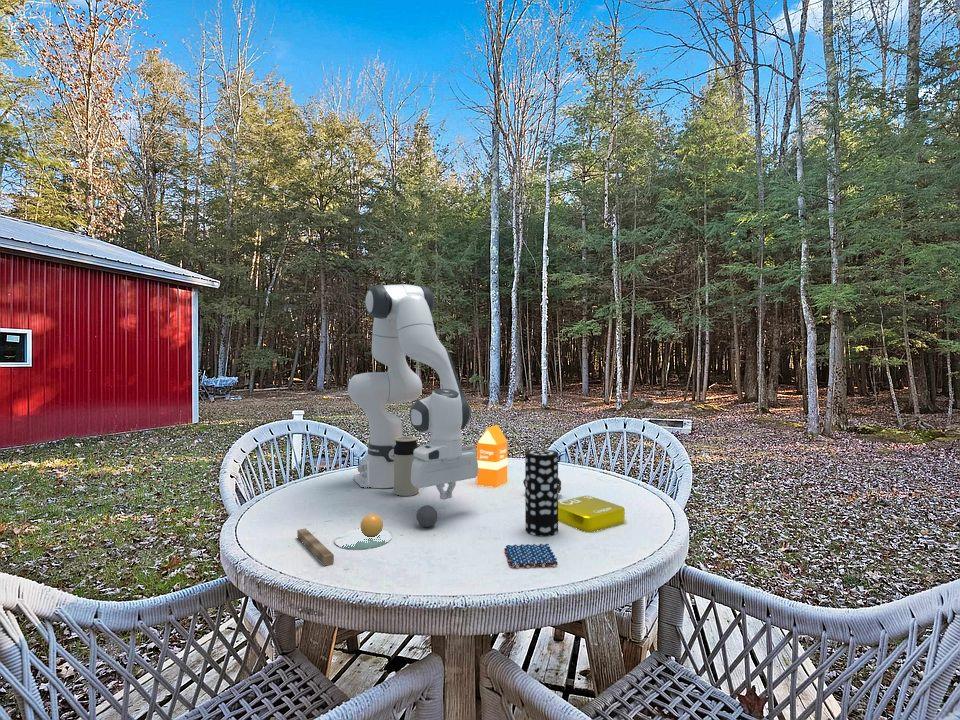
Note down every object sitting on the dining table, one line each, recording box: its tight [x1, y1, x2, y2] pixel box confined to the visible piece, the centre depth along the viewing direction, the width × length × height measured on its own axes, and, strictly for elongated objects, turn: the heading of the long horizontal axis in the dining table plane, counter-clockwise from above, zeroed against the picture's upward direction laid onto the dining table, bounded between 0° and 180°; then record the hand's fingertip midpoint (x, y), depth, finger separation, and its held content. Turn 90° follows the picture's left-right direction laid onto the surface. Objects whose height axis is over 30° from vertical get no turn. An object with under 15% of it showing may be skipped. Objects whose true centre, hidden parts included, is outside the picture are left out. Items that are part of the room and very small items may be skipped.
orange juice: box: [476, 424, 508, 488], centre depth 172 cm, size 8×9×20 cm
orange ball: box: [359, 513, 384, 537], centre depth 122 cm, size 6×6×6 cm
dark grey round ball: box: [416, 504, 439, 528], centre depth 129 cm, size 6×6×6 cm
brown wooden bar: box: [296, 528, 335, 567], centre depth 114 cm, size 20×2×2 cm, turn 36°
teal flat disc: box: [341, 535, 388, 550], centre depth 121 cm, size 14×14×1 cm
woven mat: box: [503, 543, 558, 570], centre depth 109 cm, size 10×11×2 cm
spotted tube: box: [524, 448, 559, 537], centre depth 126 cm, size 8×8×20 cm
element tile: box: [558, 495, 626, 533], centre depth 134 cm, size 15×15×5 cm
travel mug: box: [393, 435, 420, 497], centre depth 160 cm, size 8×8×18 cm
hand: (445, 498), depth 136 cm, fingers closed
